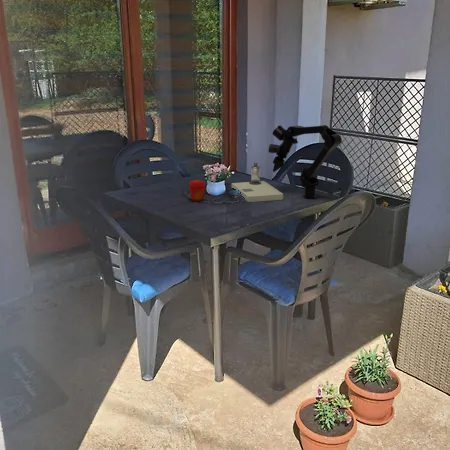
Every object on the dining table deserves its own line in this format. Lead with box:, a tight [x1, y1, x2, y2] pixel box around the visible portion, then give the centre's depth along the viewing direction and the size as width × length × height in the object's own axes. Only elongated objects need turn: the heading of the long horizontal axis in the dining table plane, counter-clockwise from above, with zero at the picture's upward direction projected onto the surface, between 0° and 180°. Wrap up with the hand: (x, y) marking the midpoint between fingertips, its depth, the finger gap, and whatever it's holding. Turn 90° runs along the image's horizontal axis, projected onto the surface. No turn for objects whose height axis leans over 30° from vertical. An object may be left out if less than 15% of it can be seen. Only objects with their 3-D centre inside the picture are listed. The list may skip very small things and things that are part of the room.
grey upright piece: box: [250, 161, 261, 184], centre depth 285 cm, size 5×5×12 cm
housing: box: [231, 180, 284, 203], centre depth 276 cm, size 30×20×3 cm, turn 16°
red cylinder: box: [188, 179, 206, 202], centre depth 262 cm, size 9×8×12 cm
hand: (274, 167), depth 283 cm, fingers open, 9 cm apart
